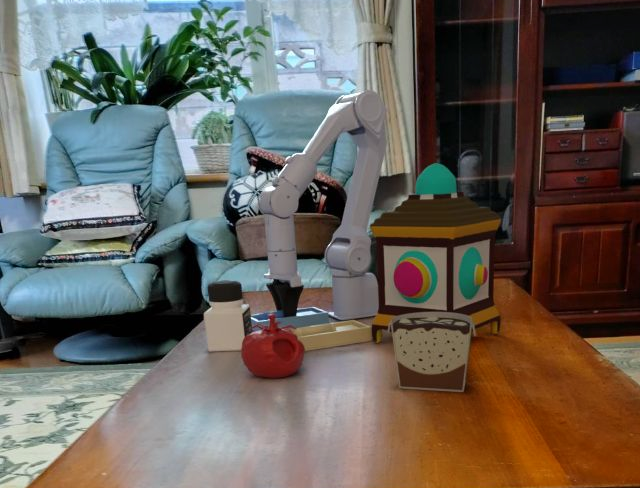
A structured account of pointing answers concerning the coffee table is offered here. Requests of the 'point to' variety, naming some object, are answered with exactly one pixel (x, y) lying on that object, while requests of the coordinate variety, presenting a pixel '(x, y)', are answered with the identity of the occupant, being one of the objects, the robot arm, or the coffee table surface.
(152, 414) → the coffee table surface
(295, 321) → the blue bin
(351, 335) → the cream bin
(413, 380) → the food container
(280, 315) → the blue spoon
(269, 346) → the pomegranate
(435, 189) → the decorative lantern
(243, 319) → the medicine bottle
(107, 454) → the coffee table surface
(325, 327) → the pale yellow bar
